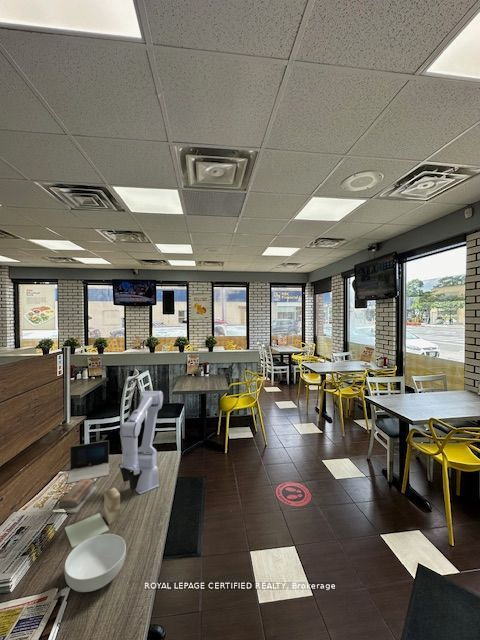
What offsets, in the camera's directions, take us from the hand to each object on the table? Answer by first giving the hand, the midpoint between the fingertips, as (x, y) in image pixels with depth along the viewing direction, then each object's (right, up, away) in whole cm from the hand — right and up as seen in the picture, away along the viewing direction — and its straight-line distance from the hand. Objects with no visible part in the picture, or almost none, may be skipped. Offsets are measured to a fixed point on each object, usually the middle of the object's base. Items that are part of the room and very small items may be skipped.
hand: (129, 484), depth 116 cm
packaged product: (-26, -11, +7) cm, 29 cm away
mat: (-12, -10, -11) cm, 19 cm away
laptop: (-31, -11, +27) cm, 43 cm away
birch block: (-5, -11, -5) cm, 13 cm away
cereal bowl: (+1, -11, -30) cm, 32 cm away
